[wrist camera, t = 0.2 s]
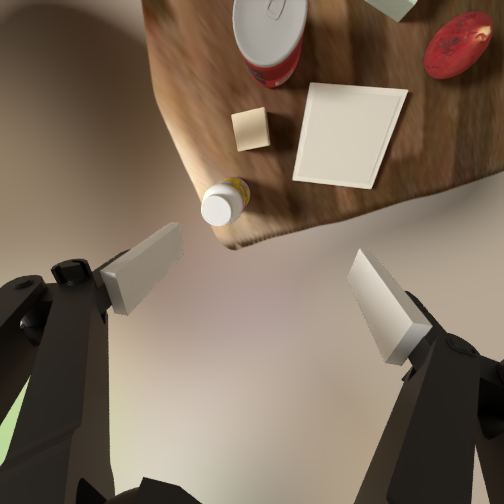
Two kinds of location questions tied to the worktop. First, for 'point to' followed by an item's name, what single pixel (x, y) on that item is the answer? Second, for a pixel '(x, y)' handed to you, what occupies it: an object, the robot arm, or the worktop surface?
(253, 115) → the beech block
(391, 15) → the sage block
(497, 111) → the worktop surface
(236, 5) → the canned food
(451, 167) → the worktop surface
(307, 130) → the tray
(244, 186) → the supplement bottle
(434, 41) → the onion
